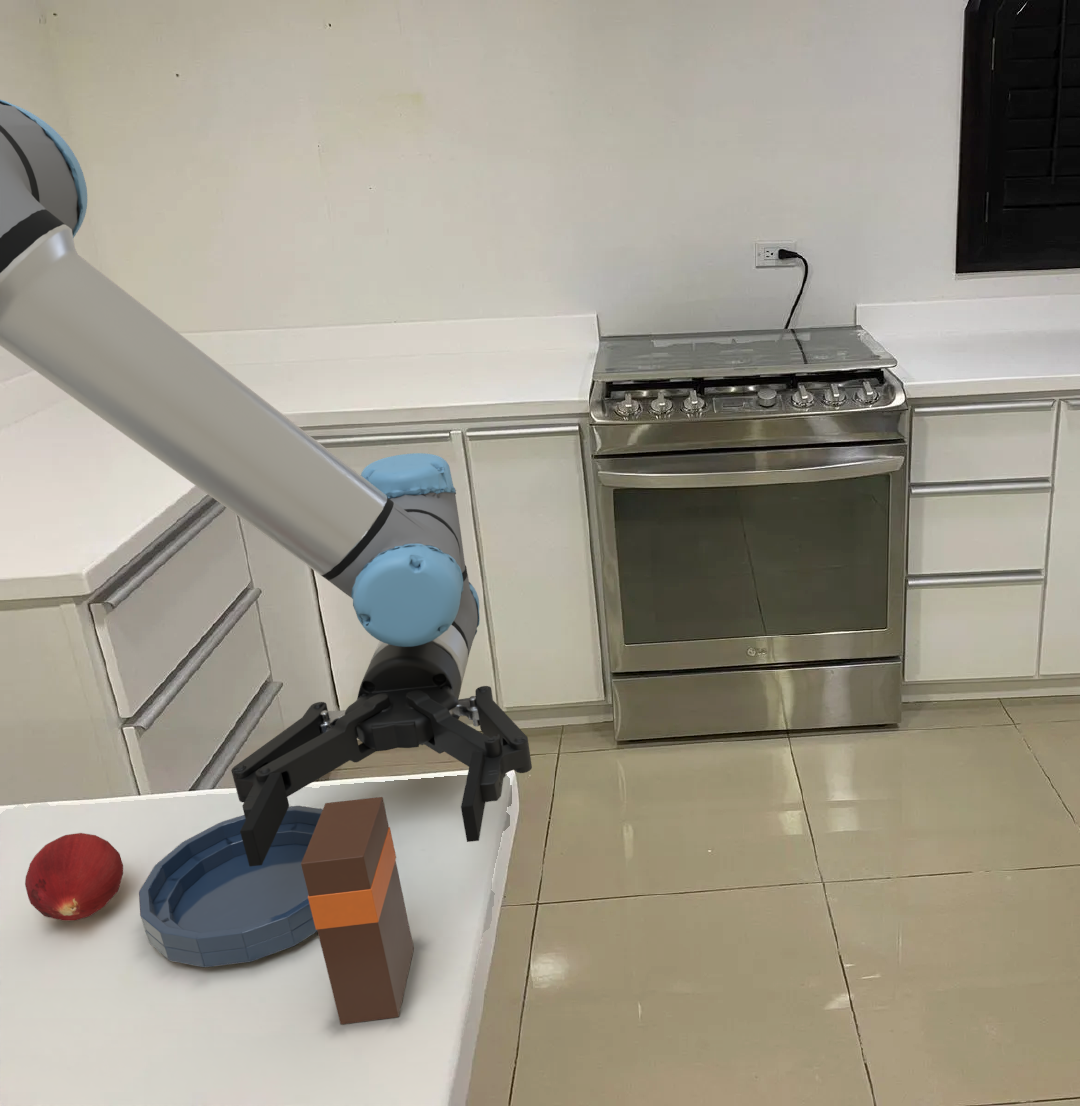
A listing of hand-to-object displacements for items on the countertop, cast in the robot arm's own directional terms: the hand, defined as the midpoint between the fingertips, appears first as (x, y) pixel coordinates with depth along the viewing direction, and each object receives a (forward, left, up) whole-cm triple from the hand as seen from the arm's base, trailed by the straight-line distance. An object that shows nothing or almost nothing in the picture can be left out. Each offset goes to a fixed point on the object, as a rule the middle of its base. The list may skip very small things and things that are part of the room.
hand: (361, 836), depth 68 cm
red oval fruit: (-23, +12, -6) cm, 27 cm away
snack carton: (0, -3, -9) cm, 10 cm away
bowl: (-10, +7, -9) cm, 15 cm away
